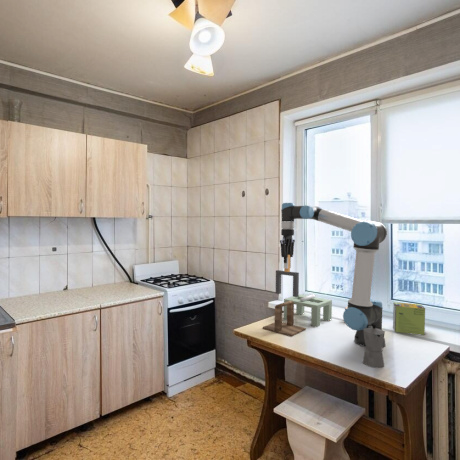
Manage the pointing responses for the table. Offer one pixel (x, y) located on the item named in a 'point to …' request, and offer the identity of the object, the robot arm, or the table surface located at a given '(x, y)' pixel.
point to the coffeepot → (373, 346)
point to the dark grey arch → (287, 272)
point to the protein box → (409, 318)
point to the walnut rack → (282, 327)
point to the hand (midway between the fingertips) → (287, 268)
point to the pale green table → (315, 307)
